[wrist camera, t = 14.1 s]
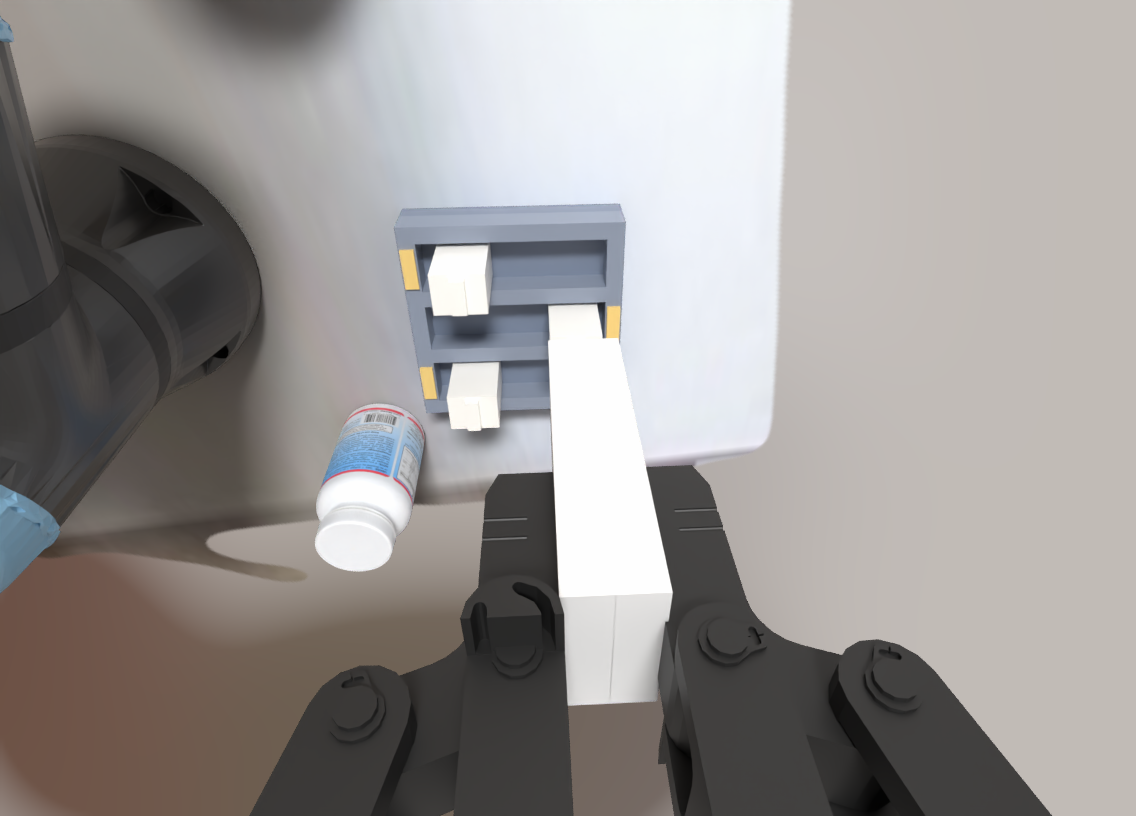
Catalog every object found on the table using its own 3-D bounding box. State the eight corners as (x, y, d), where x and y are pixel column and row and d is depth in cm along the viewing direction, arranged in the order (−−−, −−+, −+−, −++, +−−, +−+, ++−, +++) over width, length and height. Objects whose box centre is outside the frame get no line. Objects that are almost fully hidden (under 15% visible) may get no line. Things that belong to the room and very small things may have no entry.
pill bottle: (330, 440, 48) (284, 556, 39) (368, 386, 46) (328, 498, 37) (401, 474, 51) (374, 591, 42) (441, 425, 48) (421, 539, 39)
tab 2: (458, 382, 44) (450, 434, 40) (454, 353, 43) (445, 402, 38) (502, 381, 44) (499, 432, 40) (499, 351, 43) (496, 401, 38)
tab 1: (443, 275, 39) (432, 320, 35) (438, 238, 38) (426, 279, 33) (492, 274, 39) (487, 318, 35) (489, 236, 38) (483, 277, 33)
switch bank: (432, 387, 46) (426, 414, 43) (402, 208, 38) (393, 229, 36) (612, 381, 46) (617, 408, 44) (619, 203, 39) (626, 223, 36)
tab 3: (548, 329, 42) (551, 377, 37) (547, 296, 40) (550, 341, 36) (594, 327, 42) (602, 375, 38) (595, 294, 41) (603, 340, 36)
